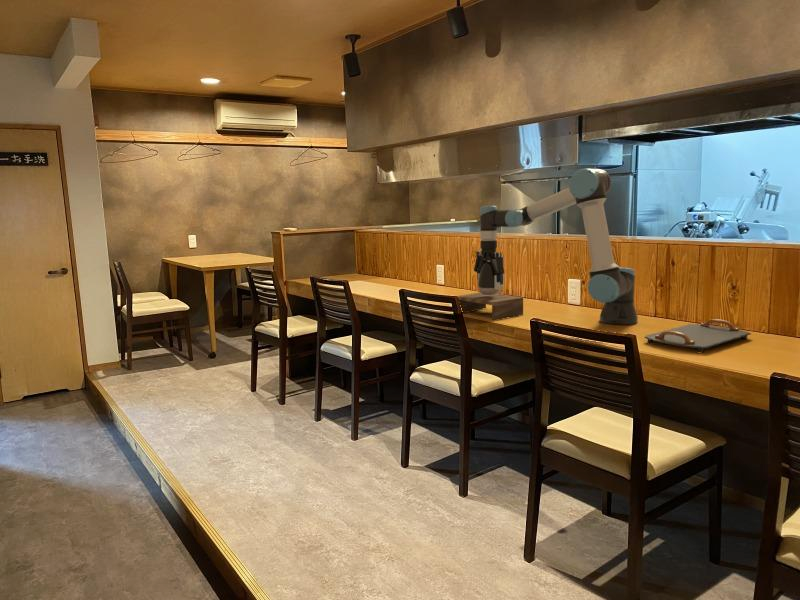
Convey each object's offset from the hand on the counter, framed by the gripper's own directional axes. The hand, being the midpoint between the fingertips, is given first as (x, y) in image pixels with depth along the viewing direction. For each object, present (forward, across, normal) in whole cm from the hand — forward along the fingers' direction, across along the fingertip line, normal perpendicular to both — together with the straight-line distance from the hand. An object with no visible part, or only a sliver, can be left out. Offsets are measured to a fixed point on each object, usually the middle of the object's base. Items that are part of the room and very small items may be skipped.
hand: (488, 288), depth 279 cm
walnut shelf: (+12, 0, 0) cm, 12 cm away
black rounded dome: (+3, 0, 0) cm, 3 cm away
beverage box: (+12, +32, -34) cm, 48 cm away
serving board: (+13, -90, -15) cm, 93 cm away
